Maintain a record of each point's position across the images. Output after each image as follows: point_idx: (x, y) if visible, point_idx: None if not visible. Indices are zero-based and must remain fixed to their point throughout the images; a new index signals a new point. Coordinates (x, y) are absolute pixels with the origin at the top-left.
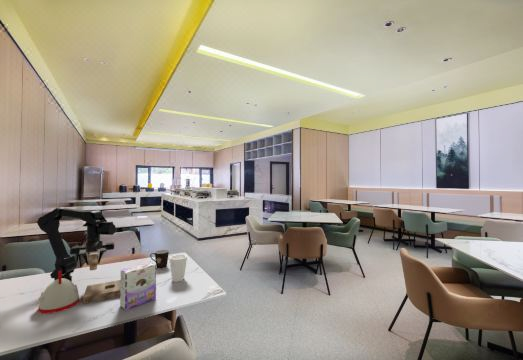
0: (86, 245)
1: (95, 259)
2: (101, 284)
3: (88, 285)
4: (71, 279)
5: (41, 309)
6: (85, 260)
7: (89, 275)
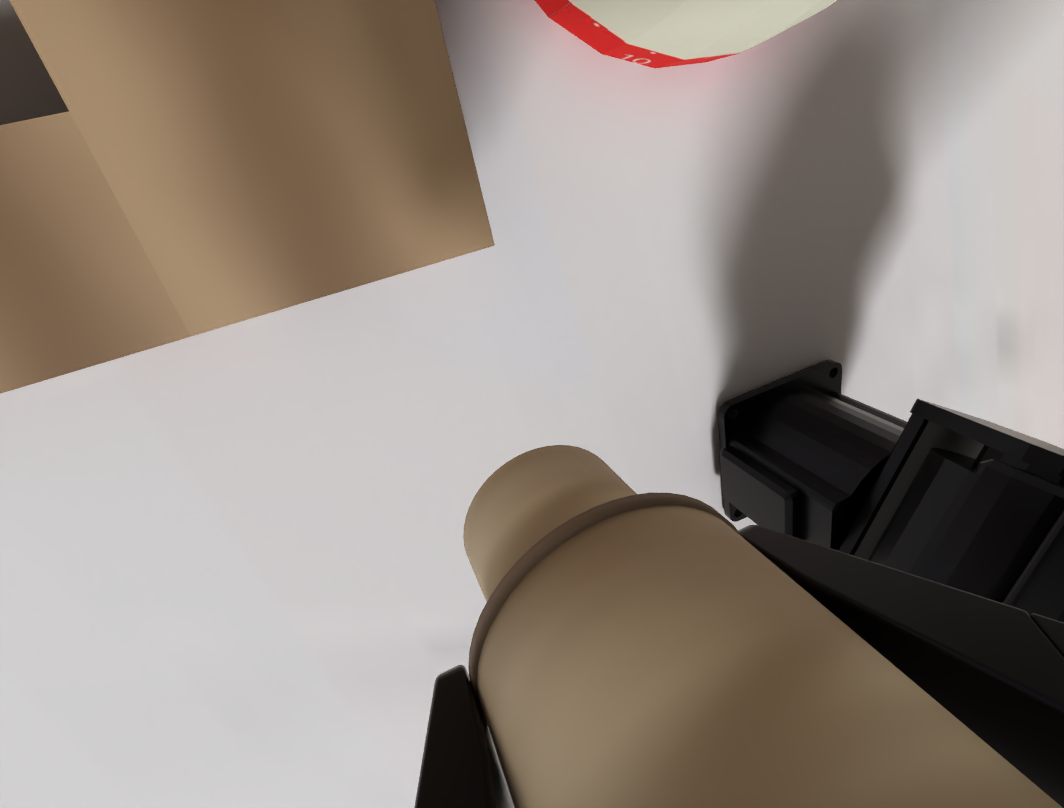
0: None
1: (624, 749)
2: (229, 237)
3: (476, 249)
4: (758, 504)
5: None
6: (969, 601)
7: None
